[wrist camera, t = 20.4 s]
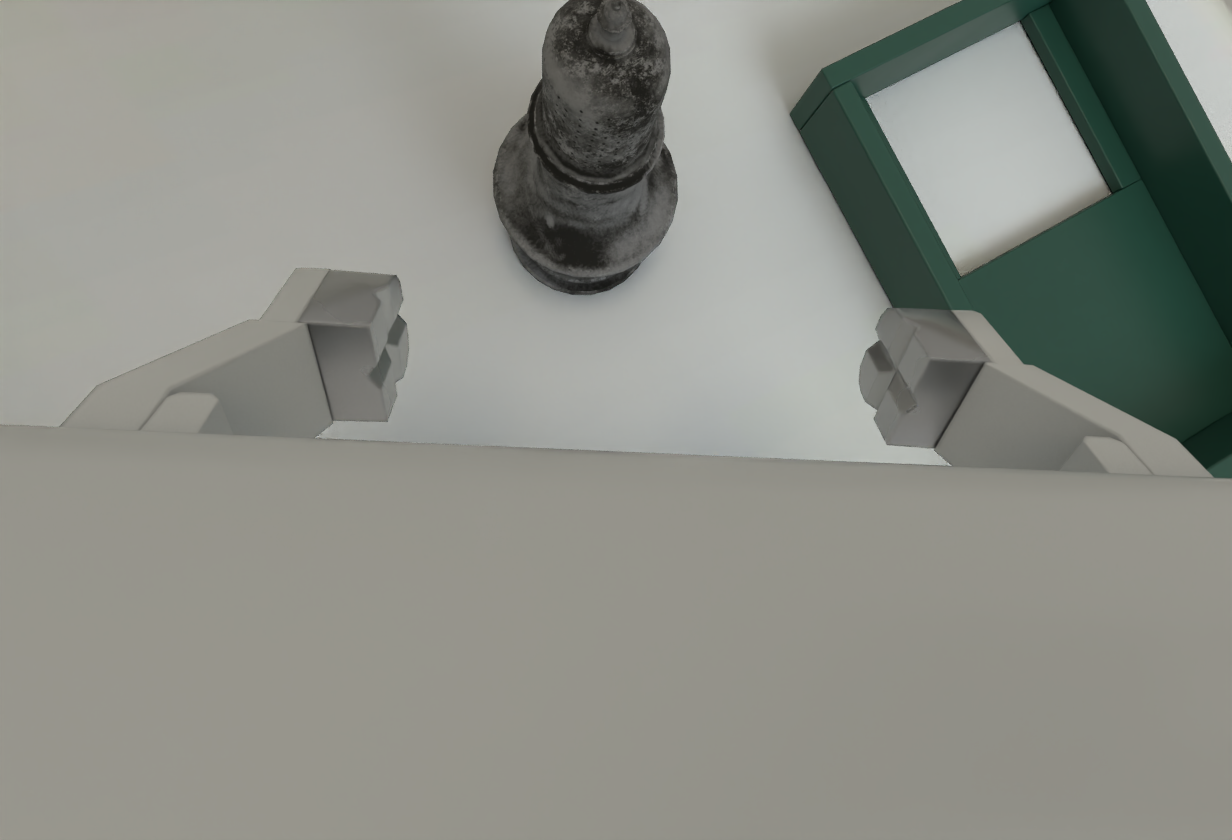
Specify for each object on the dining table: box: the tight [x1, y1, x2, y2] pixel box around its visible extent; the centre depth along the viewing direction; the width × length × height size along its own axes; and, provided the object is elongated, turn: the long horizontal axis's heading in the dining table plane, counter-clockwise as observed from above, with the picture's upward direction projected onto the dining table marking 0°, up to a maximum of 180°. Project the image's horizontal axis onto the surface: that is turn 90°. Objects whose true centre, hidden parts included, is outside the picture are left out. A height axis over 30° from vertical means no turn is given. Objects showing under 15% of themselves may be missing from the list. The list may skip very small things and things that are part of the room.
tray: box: [790, 0, 1232, 478], centre depth 25 cm, size 20×13×3 cm, turn 29°
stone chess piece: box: [493, 0, 678, 295], centre depth 18 cm, size 6×6×12 cm
